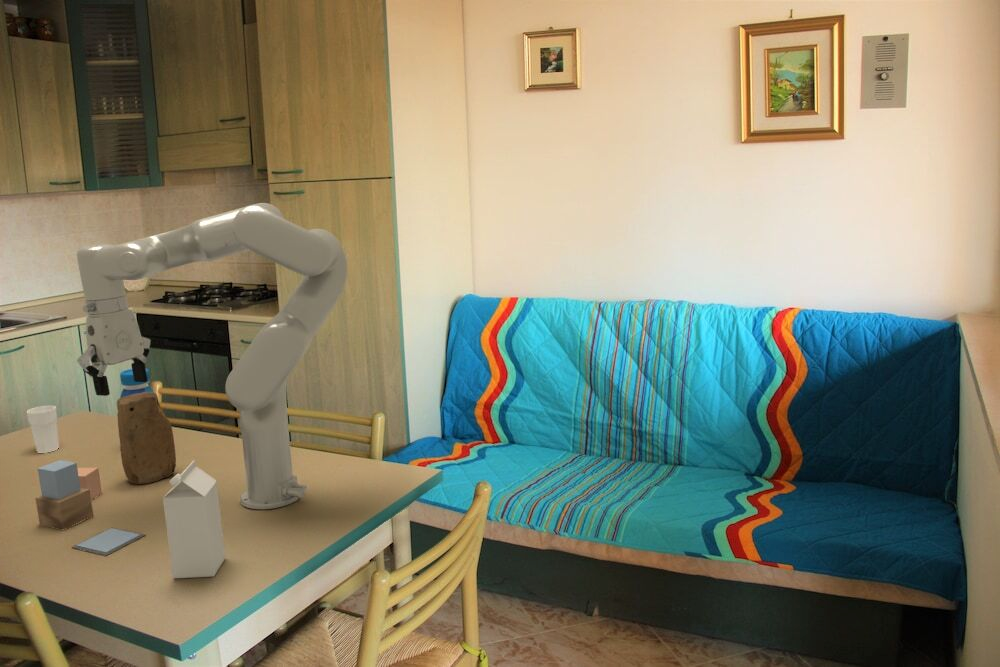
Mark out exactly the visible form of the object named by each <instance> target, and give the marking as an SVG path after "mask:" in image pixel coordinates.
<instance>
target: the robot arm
mask: <svg viewBox="0 0 1000 667" xmlns="http://www.w3.org/2000/svg"><path fill="white" fill-rule="evenodd" d="M250 251H251V252H253V253H255V254H257V255H259V256H261V257H263V258H265V259H267V260H270V261H271V262H273V263H275V264H277V265H280V266H281V267H283V268H286V269H288V270H290V271H292V272H294V273H297V274H299V275H302V276H303V277H302V278H301V280H300V281H299V283H298V284H297V286H296V287H295V289H294V290H293V291H292V293H291V295H290V297H289V298H288V300H287V301H286V302H285V304H284V305H283V306H282V308H280V310H279V311H278V313H277V314H275V316H273V317H272V318H271V319H270V320H268V322H267V323H265V324H264V325H263V327H262V328H261V329H260V330H259V331H258V333H257V335H256V336H255V337H254V338H253V340H252V341H251V343H250V344H249V345H248V347H247V348H246V350H245V351H244V352H243V353H242V355H241V357H240V358H239V360H238V361H237V363H236V364H235V366H234V367H233V368H232V370H231V371H230V373H229V374H228V376H227V378H226V381H225V386H224V387H225V388H224V389H225V395H226V398H227V400H228V402H229V403H230V404H231V405H232V406H233V407H235V408H236V409H238V410H239V422H240V430H241V431H240V432H241V441H242V451H243V460H244V468H245V480H246V486H247V487H246V490H245V491H244V492H243V493H241V495H240V503H241V505H242V506H244V507H246V508H248V509H250V510H251V509H253V510H270V509H277V508H281V507H285V506H287V505H290V504H292V503H293V504H294V503H295V502H296V501H299V499H302V498H304V496H305V494H306V493H305V492H306V491H307V489H308V487H307V485H306V484H299V483H298V477H297V475H293V466H292V464H293V463H292V453H291V452H292V451H291V443H290V441H291V440H290V435H289V434H290V433H289V419H288V410H287V408H288V407H287V380H288V378H289V376H290V375H291V373H292V372H293V371H294V369H295V368H296V367H297V365H298V364H299V362H300V361H301V359H302V358H303V357H304V355H305V354H306V353H307V351H308V349H309V347H310V346H311V343H312V341H313V340H314V337H315V336H316V335H317V333H318V331H319V330H320V328H321V327H322V325H323V324H324V323H325V321H326V320H327V318H328V317H329V315H330V314H331V312H332V311H333V309H334V308H335V306H336V305H337V303H338V301H339V300H340V298H341V297H342V296H341V295H342V294H343V292H344V290H345V287H346V282H347V278H348V261H347V257H346V253H345V250H344V248H343V246H342V245H341V243H340V241H339V239H338V238H337V236H335V235H334V234H333V233H332V232H331V231H328V230H326V229H323V228H312V229H306V228H304V227H302V226H300V225H297V224H296V223H293V222H292V221H289V220H287V219H286V218H284V216H283V214H282V211H280V209H279V208H278V207H276V206H275V205H273V204H271V203H267V202H258V203H254V204H249V205H247V206H243V207H239V208H236V209H233V210H229V211H225V212H221V213H218V214H215V215H211V216H207V217H204V218H200V219H197V220H194V221H193V222H191V223H190V224H188V225H185V226H182V227H179V228H176V229H173V230H169V231H165V232H162V233H158V234H153V235H150V236H147V237H143V238H139V239H135V240H132V241H127V242H124V243H120V244H115V245H113V244H109V243H105V244H104V243H103V244H101V243H100V244H94V245H93V244H92V245H87V246H83V247H82V246H81V247H80V248H78V250H77V251H76V258H77V265H78V270H79V274H80V280H81V286H82V292H83V296H84V300H85V305H83V306H82V310H83V312H84V313H87V316H86V319H85V333H86V337H85V338H86V344H87V345H86V346H87V349H86V350H85V351H84V352H83V353H82V354H81V355H80V356H79V357H78V358H77V361H76V362H77V363H78V365H79V366H80V367H81V368H82V371H83V372H85V373H86V374H88V377H89V378H90V377H91V378H92V382H93V387H94V392H95V394H96V396H99V397H100V396H101V397H102V396H104V397H107V396H110V388H109V383H108V378H107V376H106V375H105V372H106V369H107V368H108V366H114V365H117V364H120V363H123V362H127V361H130V360H131V361H132V363H131V369H132V371H133V377H134V381H135V382H147V381H148V380H147V374H146V369H147V368H146V364H145V363H147V362H148V355H149V353H150V347H151V340H152V339H150V338H147V337H144V336H143V335H142V334H141V331H140V330H141V329H140V326H139V323H138V320H137V318H136V315H135V314H134V311H133V309H132V308H129V305H128V299H127V295H126V294H127V293H126V288H125V282H124V280H125V281H136V280H142V279H144V278H147V277H149V276H152V275H155V274H158V273H161V272H163V271H167V270H170V269H173V268H178V267H182V266H185V265H189V264H192V263H197V262H208V263H209V262H212V261H217V260H221V259H224V258H227V257H228V258H229V257H231V256H235V255H238V254H241V253H246V252H250Z"/></svg>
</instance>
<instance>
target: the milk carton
mask: <svg viewBox="0 0 1000 667" xmlns="http://www.w3.org/2000/svg"><path fill="white" fill-rule="evenodd" d="M168 483H169V484H170V485H171V486H173V487H171V489H170V490H169V491H168V492H167V493H166V494H165V495H164V497H163V498H162V502H163V504H162V505H163V510H164V519H165V526H166V527H165V528H166V535H167V542H168V551H169V557H170V568H171V573H172V579H189V578H190V579H191V578H192V579H193V578H208V577H212V578H213V577H215V575H216V574H217V572H218V571H219V569H220V568H221V566H222V564H223V563H224V561H225V559H226V550H225V545H224V543H225V541H224V536H223V526H222V515H221V510H220V509H221V507H220V499H219V498H220V496H219V489H218V481H217V480H216V479H215V478H214V477H212V476H211V475H209V474H208V473H206V472H205V471H204V470H203V469H201V468H199V466H197V465H196V460H195V459H194V460H192V462H191V463H190V464H189V465H188V466H187V467H186V468H185V469H184V470H183V471H182V472H181V473H176V474H175V475H174V476H173V477H172V478H171V479H170V480H169V482H168Z"/></svg>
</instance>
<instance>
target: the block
mask: <svg viewBox="0 0 1000 667" xmlns="http://www.w3.org/2000/svg"><path fill="white" fill-rule="evenodd" d="M116 407H117V426H118V427H117V429H118V438H119V443H120V447H119V449H120V456H121V464H122V468H123V472H124V474H125V477H126V478H127V480H128V481H129V482H130V483H131V484H134V485H142V484H144V485H145V484H150V483H154V482H158V481H159V480H161V479H166V478H168V477H170V476H171V475H172V474H174V473H175V471H176V466H177V461H176V445H175V440H174V432H173V426H172V423H171V421H170V419H168V418H167V416H166V414H165V412H164V411H163V409H162V407H161V404H160V401H159V397H158V395H157V393H155V392H154V393H153V392H148V391H147V392H142V393H138V394H132V395H128V396H124V397H122V398H120V397H119V398H118V399H117V401H116Z"/></svg>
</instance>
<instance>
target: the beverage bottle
mask: <svg viewBox="0 0 1000 667" xmlns="http://www.w3.org/2000/svg"><path fill="white" fill-rule="evenodd" d="M145 369H146V374H147V380H148V381H147V382H135V381H134V377H133V371H132V368H130V369H129V368H128V369H125V370H123V371H121V372H120V373H119V377H120V383H121V386H122V387H124V388H123V389H122V391H121V393H120V397H119V398H122V397H124V396H128V395H132V394H138V393H142V392H147V391H148V392H153V393H155V391H154V389H153V388H152V386H150V385H149V383H150V381H151V379H150V378H151V377H150V371H149V369H148V368H145Z"/></svg>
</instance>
